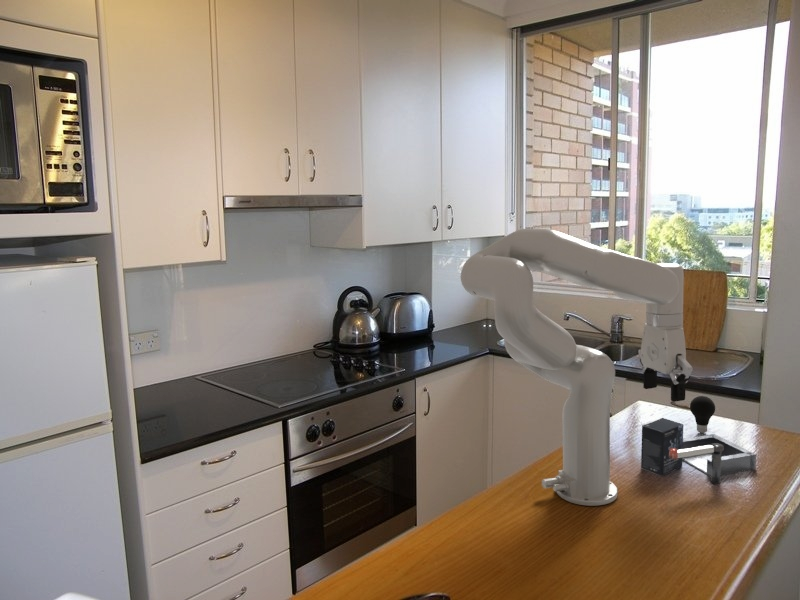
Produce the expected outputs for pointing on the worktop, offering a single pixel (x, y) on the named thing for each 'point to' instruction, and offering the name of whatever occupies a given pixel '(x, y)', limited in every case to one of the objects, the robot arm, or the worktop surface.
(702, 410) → the light bulb
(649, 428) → the box
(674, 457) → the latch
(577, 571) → the worktop surface
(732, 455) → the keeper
